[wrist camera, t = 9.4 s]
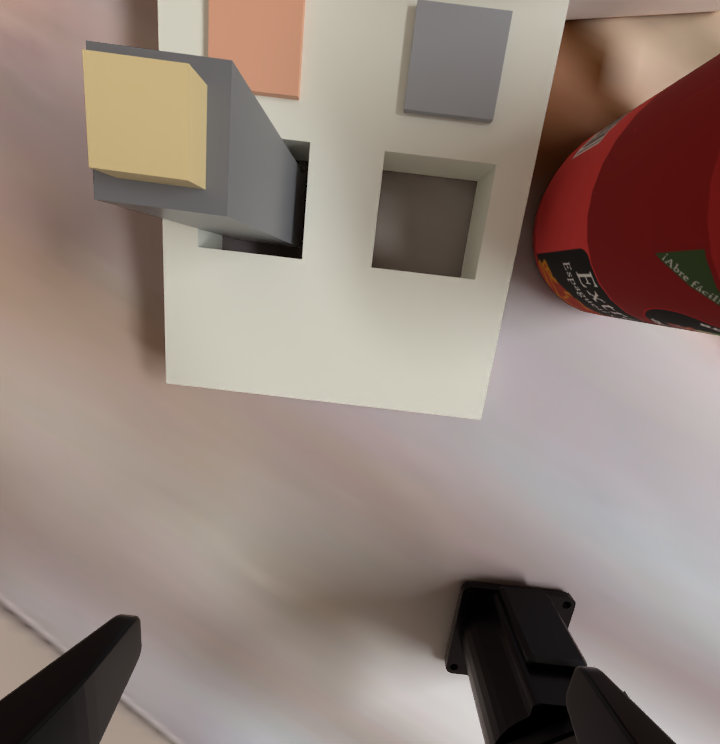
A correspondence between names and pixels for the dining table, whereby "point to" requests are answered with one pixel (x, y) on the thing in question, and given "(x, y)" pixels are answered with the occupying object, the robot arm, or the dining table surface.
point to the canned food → (642, 213)
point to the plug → (188, 144)
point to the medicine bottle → (636, 8)
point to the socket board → (365, 196)
